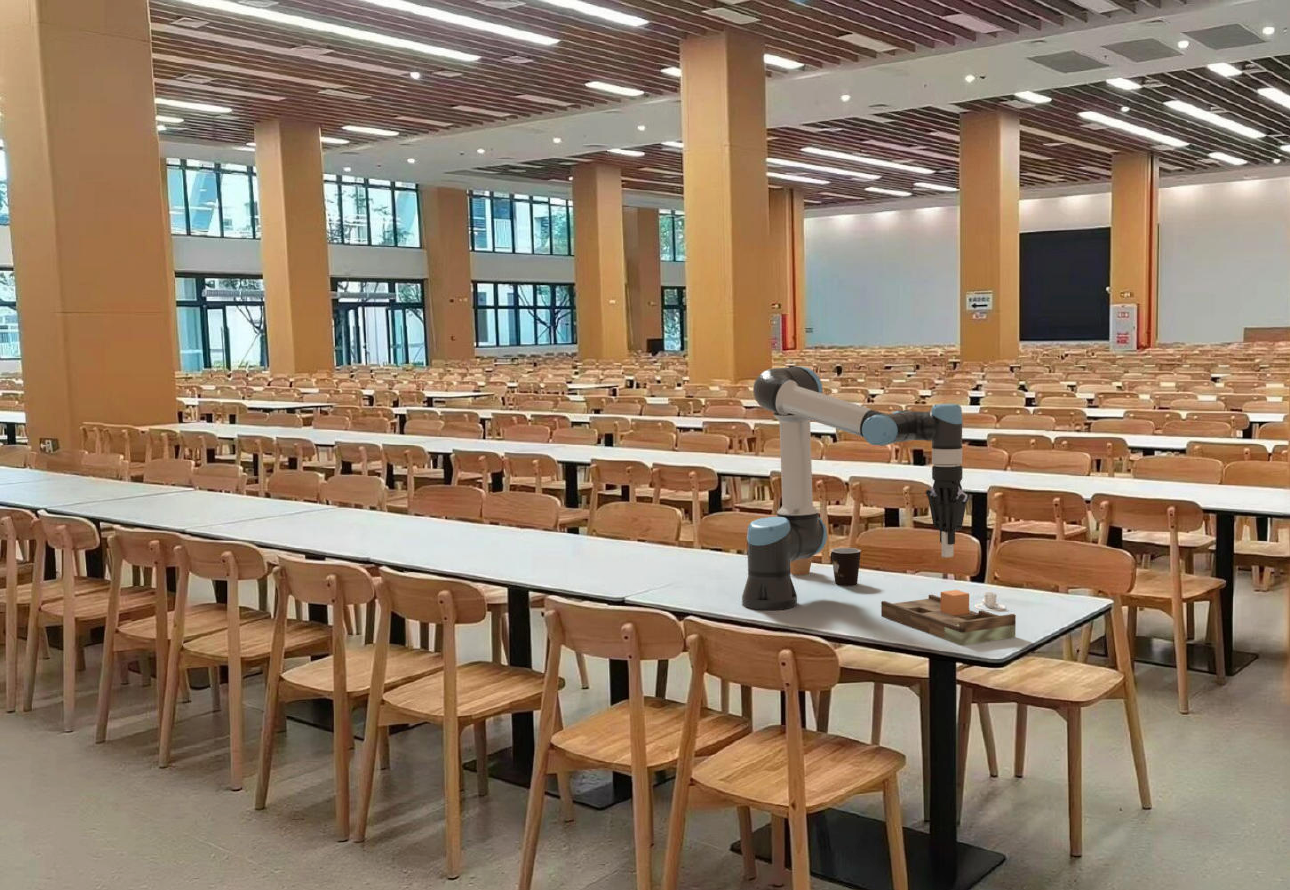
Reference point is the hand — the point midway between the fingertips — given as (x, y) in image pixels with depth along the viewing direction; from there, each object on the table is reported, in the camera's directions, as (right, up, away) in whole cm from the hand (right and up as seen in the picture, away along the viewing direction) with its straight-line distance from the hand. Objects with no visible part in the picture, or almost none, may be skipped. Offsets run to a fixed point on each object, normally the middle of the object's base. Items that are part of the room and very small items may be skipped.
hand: (947, 556), depth 311 cm
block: (+1, -14, -2) cm, 14 cm away
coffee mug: (-18, -13, +49) cm, 54 cm away
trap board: (-2, -17, -4) cm, 18 cm away
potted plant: (-30, -11, +65) cm, 72 cm away
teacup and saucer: (+18, -15, +16) cm, 29 cm away
